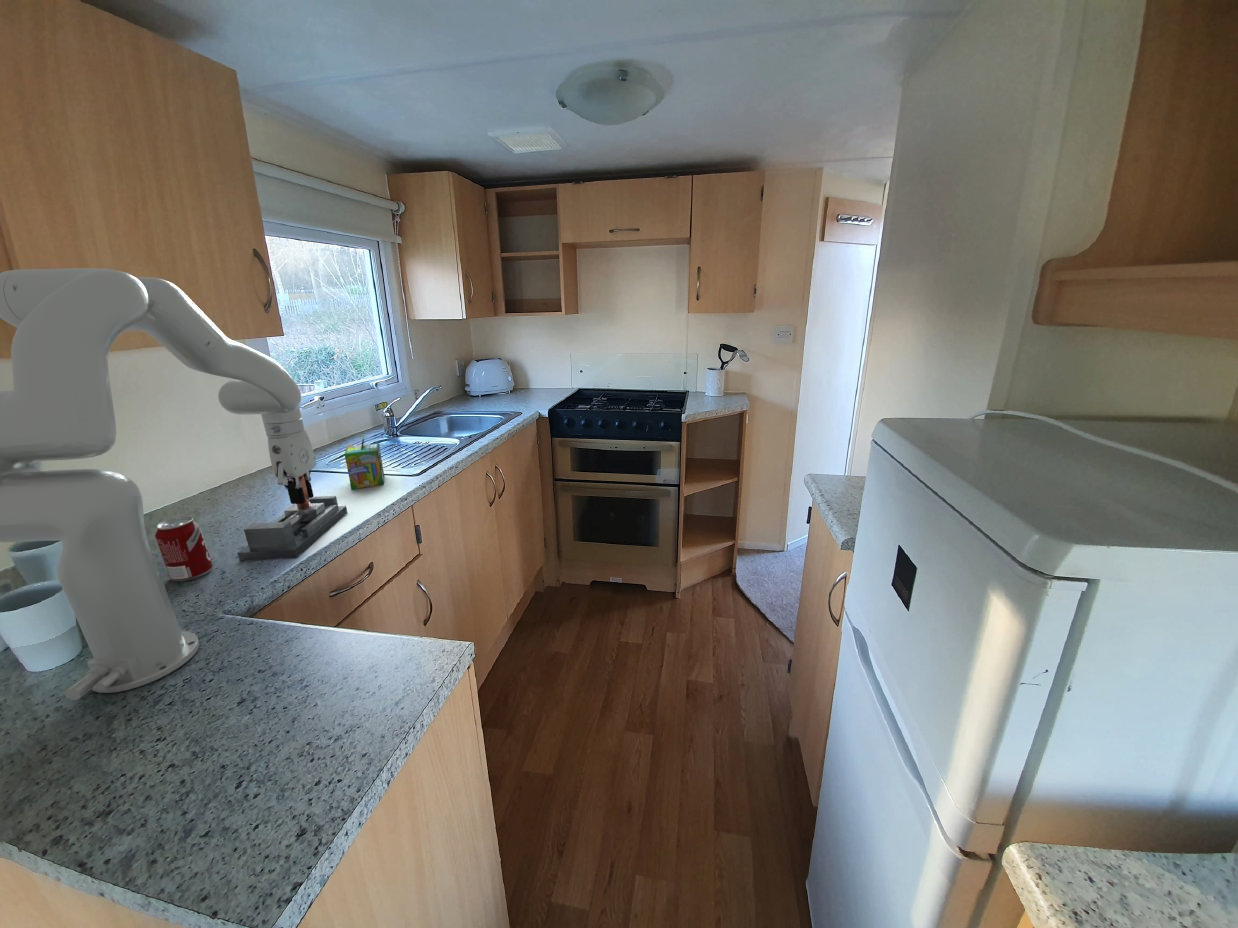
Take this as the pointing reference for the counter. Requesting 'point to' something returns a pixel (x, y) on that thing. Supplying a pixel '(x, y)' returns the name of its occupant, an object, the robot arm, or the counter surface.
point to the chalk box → (364, 465)
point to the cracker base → (298, 540)
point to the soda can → (183, 549)
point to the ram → (303, 508)
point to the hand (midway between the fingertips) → (302, 499)
